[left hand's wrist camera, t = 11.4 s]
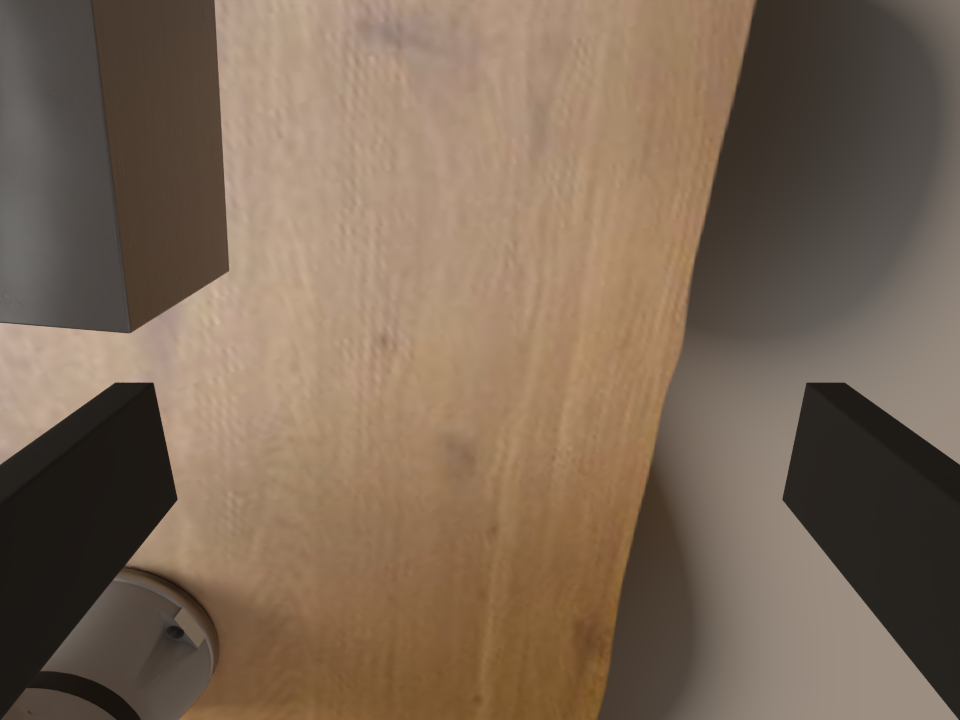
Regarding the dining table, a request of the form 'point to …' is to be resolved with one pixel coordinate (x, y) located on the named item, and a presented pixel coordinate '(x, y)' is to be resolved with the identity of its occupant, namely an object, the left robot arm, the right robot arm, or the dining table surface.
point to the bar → (108, 160)
